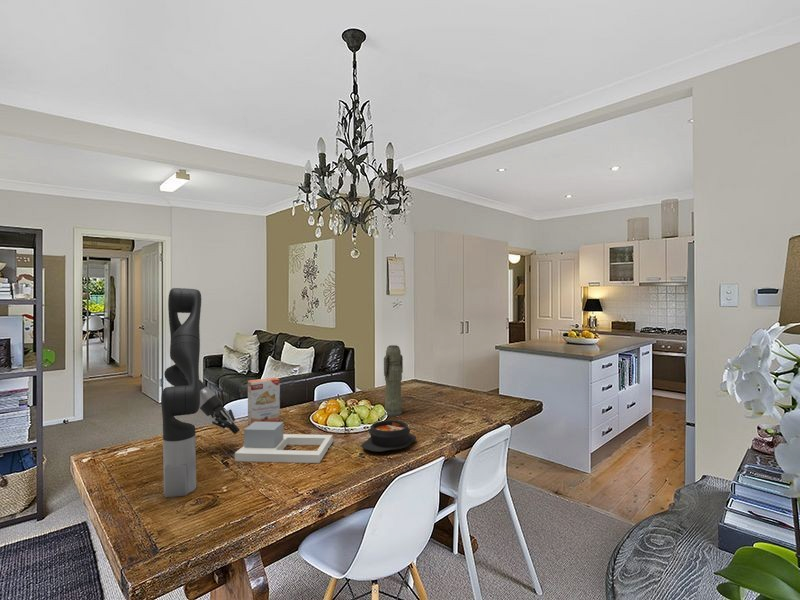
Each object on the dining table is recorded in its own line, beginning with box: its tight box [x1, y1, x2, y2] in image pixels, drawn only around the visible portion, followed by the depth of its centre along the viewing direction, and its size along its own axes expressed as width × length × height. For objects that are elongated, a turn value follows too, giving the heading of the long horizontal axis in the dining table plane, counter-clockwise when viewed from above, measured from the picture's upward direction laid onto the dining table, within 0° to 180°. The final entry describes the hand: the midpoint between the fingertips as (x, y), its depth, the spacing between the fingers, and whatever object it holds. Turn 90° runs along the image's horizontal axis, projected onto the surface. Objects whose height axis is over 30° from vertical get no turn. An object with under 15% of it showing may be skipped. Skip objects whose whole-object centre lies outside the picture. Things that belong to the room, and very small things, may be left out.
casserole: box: [361, 419, 417, 453], centre depth 174 cm, size 25×19×8 cm
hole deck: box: [234, 433, 334, 464], centre depth 169 cm, size 22×32×3 cm
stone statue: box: [383, 344, 404, 417], centre depth 220 cm, size 9×12×35 cm
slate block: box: [243, 421, 284, 448], centre depth 169 cm, size 10×12×7 cm
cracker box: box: [247, 376, 281, 425], centre depth 206 cm, size 14×6×21 cm, turn 125°
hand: (237, 432), depth 170 cm, fingers closed
